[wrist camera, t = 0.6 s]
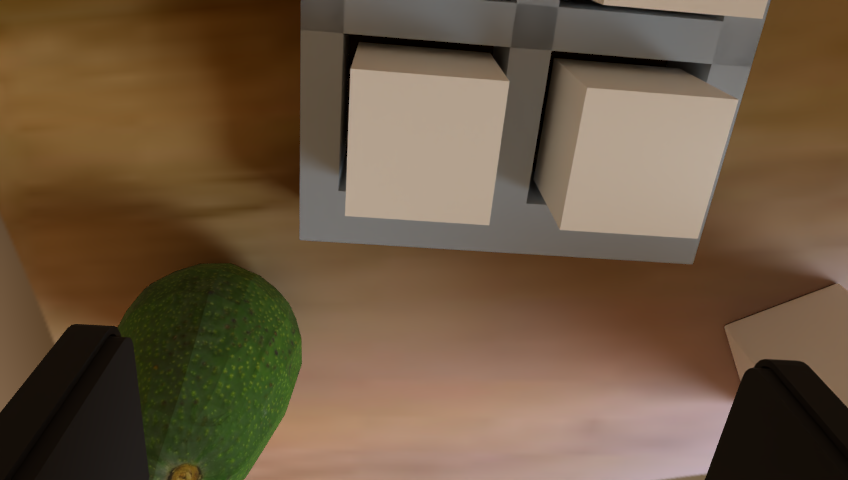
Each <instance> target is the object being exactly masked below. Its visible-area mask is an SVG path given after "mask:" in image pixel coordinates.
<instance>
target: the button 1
mask: <svg viewBox="0 0 848 480" xmlns="http://www.w3.org/2000/svg"><path fill="white" fill-rule="evenodd" d="M509 82H510V81H509V80H508V78H507V77H506V75H505V74H504V73H503V71H502V70H501V68H500V67H499V65H498V64H497V62H496V61H495V59H494V58H493V57H492V55H491V54H490V53H486V52H474V51H462V50H450V49H438V48H426V47H414V46H402V45H389V44H377V43H365V42H359V44H358V47H357V50H356V53H355V56H354V59H353V62H352V66H351V69H350V94H349V121H348V148H347V175H346V201H345V216H352V217H368V218H383V219H399V220H414V221H430V222H445V223H461V224H476V225H489V223H490V216H491V209H492V202H493V195H494V188H495V181H496V174H497V167H498V160H499V153H500V146H501V138H502V131H503V124H504V117H505V110H506V103H507V96H508V89H509Z"/></svg>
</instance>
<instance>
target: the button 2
mask: <svg viewBox="0 0 848 480" xmlns="http://www.w3.org/2000/svg"><path fill="white" fill-rule="evenodd" d="M593 1H595V2H597V3H600V4H602V5H610V6H621V7H633V8H644V9H655V10H666V11H678V12H689V13H700V14H712V15H723V16H734V17H746V18H757V19H763V15H764V12H765V9H766V5H767V2H768V0H593Z"/></svg>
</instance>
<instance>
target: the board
mask: <svg viewBox="0 0 848 480" xmlns="http://www.w3.org/2000/svg"><path fill="white" fill-rule="evenodd" d="M770 1H771V0H768V2H767V5H766V9H765V12H764V15H763V19H757V18H746V17H734V16H723V15H712V14H700V13H689V12H678V11H666V10H655V9H644V8H633V7H621V6H610V5H602V4H600V3H597V2H595V1H593V0H301V52H300V240H307V241H323V242H340V243H356V244H372V245H388V246H404V247H420V248H437V249H453V250H469V251H485V252H501V253H517V254H534V255H550V256H566V257H582V258H598V259H614V260H631V261H647V262H663V263H679V264H693V262H694V258H695V255H696V252H697V248H698V245H699V241H700V238H701V235H702V231H703V228H704V225H705V221H706V218H707V214H708V211H709V208H710V204H711V201H712V198H713V194H714V191H715V187H716V184H717V181H718V177H719V174H720V170H721V167H722V164H723V160H724V157H725V154H726V150H727V147H728V143H729V140H730V137H731V133H732V130H733V126H734V123H735V120H736V116H737V113H738V110H739V106H740V103H741V99H742V96H743V93H744V89H745V86H746V83H747V79H748V76H749V72H750V69H751V66H752V62H753V59H754V55H755V52H756V49H757V45H758V42H759V39H760V35H761V32H762V28H763V25H764V22H765V18H766V15H767V12H768V8H769V5H770ZM350 34H357V35H369V36H381V37H393V38H405V39H417V40H429V41H441V42H453V43H465V44H477V45H489V46H494V50H493V58H494V59H495V61H496V62H497V64H498V65H499V67H500V68H501V70H502V71H503V73H504V74H505V75H506V77H507V78H508V80H509V81H510V82H509V89H508V96H507V103H506V110H505V117H504V124H503V131H502V138H501V146H500V153H499V160H498V167H497V174H496V181H495V188H494V195H493V202H492V209H491V216H490V223H489V225H476V224H461V223H445V222H430V221H414V220H399V219H383V218H368V217H352V216H345V201H346V175H347V158H346V135H347V107H348V80H349V53H350ZM551 51H561V52H573V53H585V54H597V55H609V56H621V57H633V58H645V59H657V60H668V62H667V66H666V67H668V68H680V69H682V70H683V71H685V72H687V73H689V74H691V75H693V76H695V77H697V78H699V79H701V80H702V81H704V82H706V83H708V84H710V85H712V86H714V87H716V88H718V89H719V90H721V91H723V92H725V93H727V94H729V95H731V96H733V97H735V98H737V99H738V104H737V107H736V111H735V114H734V117H733V121H732V124H731V128H730V131H729V134H728V138H727V141H726V145H725V148H724V151H723V155H722V158H721V162H720V165H719V168H718V172H717V175H716V179H715V182H714V185H713V189H712V192H711V196H710V199H709V202H708V206H707V209H706V213H705V216H704V219H703V223H702V226H701V230H700V233H699V236H698V239H693V238H677V237H662V236H646V235H631V234H615V233H600V232H584V231H569V230H560V229H559V227H558V226H557V224H556V222H555V220H554V218H553V216H552V214H551V212H550V210H549V208H548V206H547V204H546V202H545V201H544V199H543V197H542V195H541V193H540V191H539V189H538V187H537V185H536V183H535V181H534V174H535V171H532V166H533V160H534V154H535V148H536V142H537V135H538V129H539V123H540V117H541V111H542V105H543V99H544V93H545V87H546V81H547V75H548V69H549V63H550V57H551Z"/></svg>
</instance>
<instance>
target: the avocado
mask: <svg viewBox="0 0 848 480" xmlns="http://www.w3.org/2000/svg"><path fill="white" fill-rule="evenodd" d="M118 329H119V331H120V334H121V337H129V338H131V340H132V342H133V346H134V354H135V362H136V370H137V379H138V387H139V395H140V403H141V412H142V420H143V428H144V437H145V445H146V453H147V461H148V470H149V480H244V479H245V478H246V476H247V475H248V473H249V471H250V470H251V468H252V467H253V465H254V464H255V462H256V460H257V459H258V457H259V456H260V454H261V453H262V451H263V449H264V448H265V446H266V445H267V443H268V441H269V440H270V438H271V436H272V435H273V433H274V431H275V430H276V428H277V427H278V425H279V423H280V422H281V420H282V418H283V417H284V415H285V413H286V410H287V407H288V404H289V401H290V398H291V395H292V392H293V389H294V386H295V383H296V380H297V377H298V374H299V370H300V367H301V364H302V350H301V335H300V332H299V328H298V324H297V321H296V318H295V316H294V313H293V311H292V309H291V307H290V305H289V303H288V302H287V301H286V299H285V298H284V297H283V296H282V295H281V293H280V292H279V291H278V290H277V289H276V288H275V287H274V286H272V285H271V284H270V283H269V282H267V281H266V280H265V279H263V278H262V277H261V276H259V275H257V274H255V273H252V272H250V271H248V270H245V269H243V268H240V267H238V266H236V265H233V264H231V263H222V264H198V265H195V266H191V267H188V268H185V269H181V270H178V271H175V272H173V273H171V274H169V275H167V276H165V277H163V278H161V279H159V280H158V281H156V282H154V283H152V284H150V285H149V286H148V287H147V288H145V289H144V290H143V291H142V293H141V294H140V295H139V296H138V297H137V299H136V300H135V301H134V302H133V304H132V305H131V306H130V307H129V308H128V310H127V311H126V313H125V315H124V317H123V318H122V320H121V322H120V324H119V326H118Z"/></svg>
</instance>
